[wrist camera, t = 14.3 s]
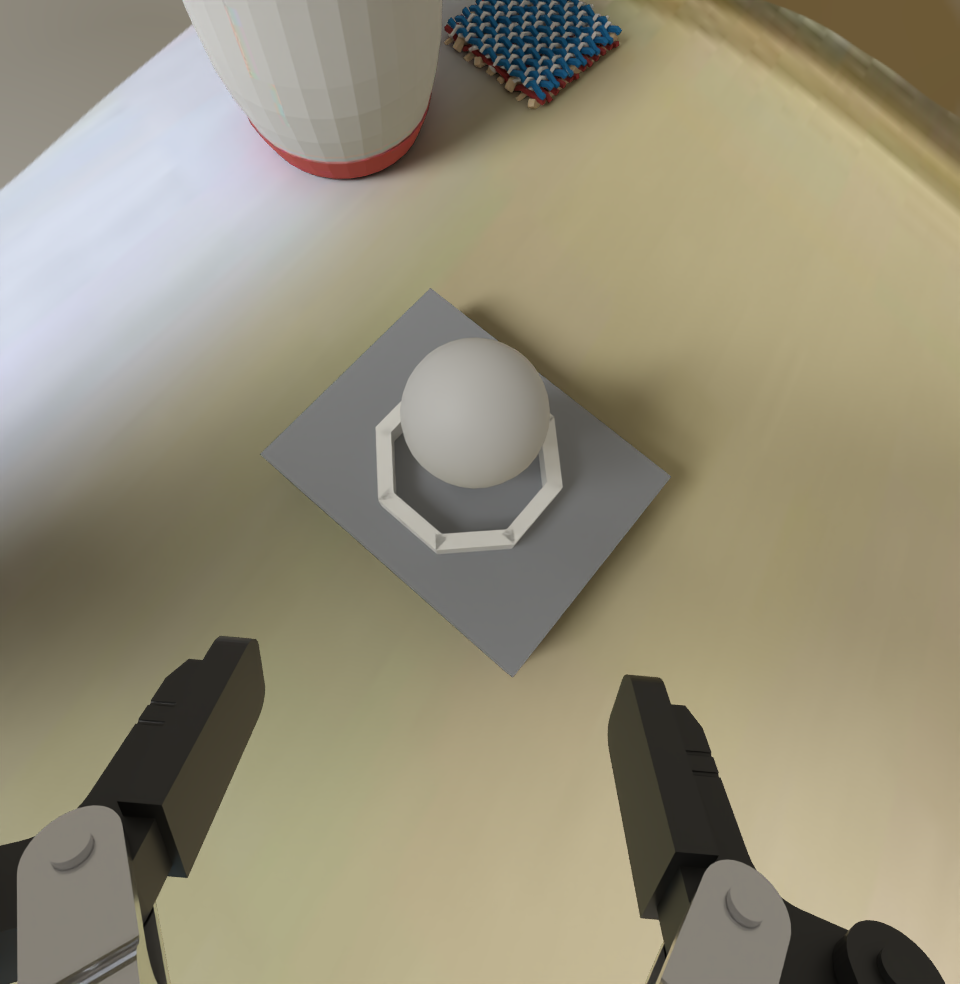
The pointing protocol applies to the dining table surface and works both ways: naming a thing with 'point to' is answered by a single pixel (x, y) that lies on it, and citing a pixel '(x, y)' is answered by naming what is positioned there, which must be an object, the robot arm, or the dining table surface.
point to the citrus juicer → (327, 75)
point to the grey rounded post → (475, 413)
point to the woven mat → (532, 42)
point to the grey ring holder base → (466, 495)
